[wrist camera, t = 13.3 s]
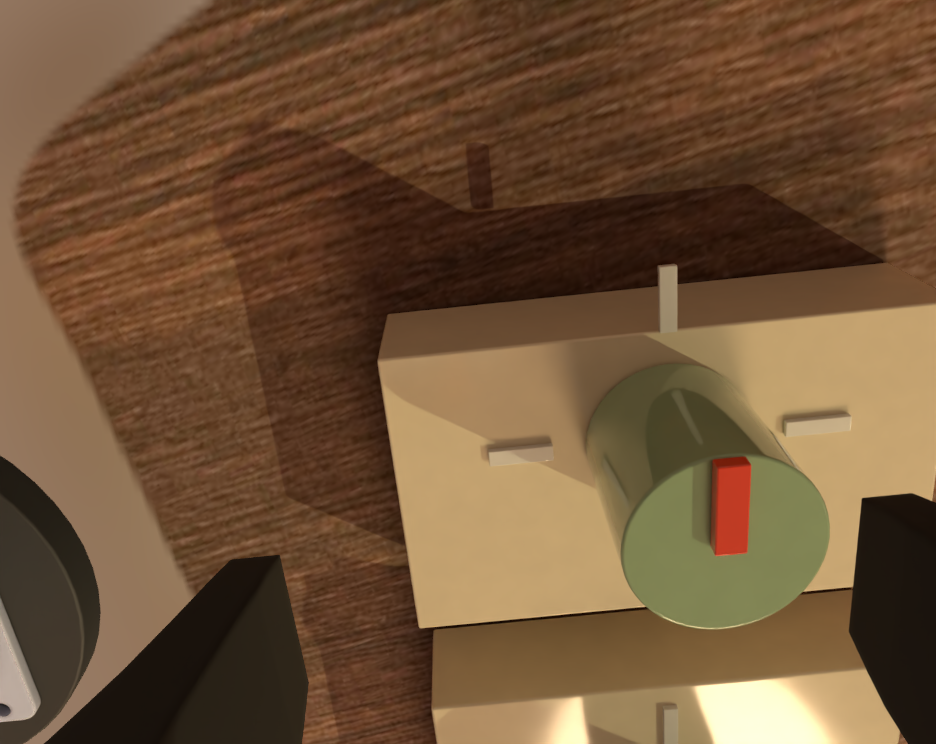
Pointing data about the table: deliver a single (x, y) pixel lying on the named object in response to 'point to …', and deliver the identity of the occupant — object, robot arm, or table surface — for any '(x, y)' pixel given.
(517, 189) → the table surface
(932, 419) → the tan base plate
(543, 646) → the dial knob base
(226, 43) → the table surface
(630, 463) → the green dial knob
